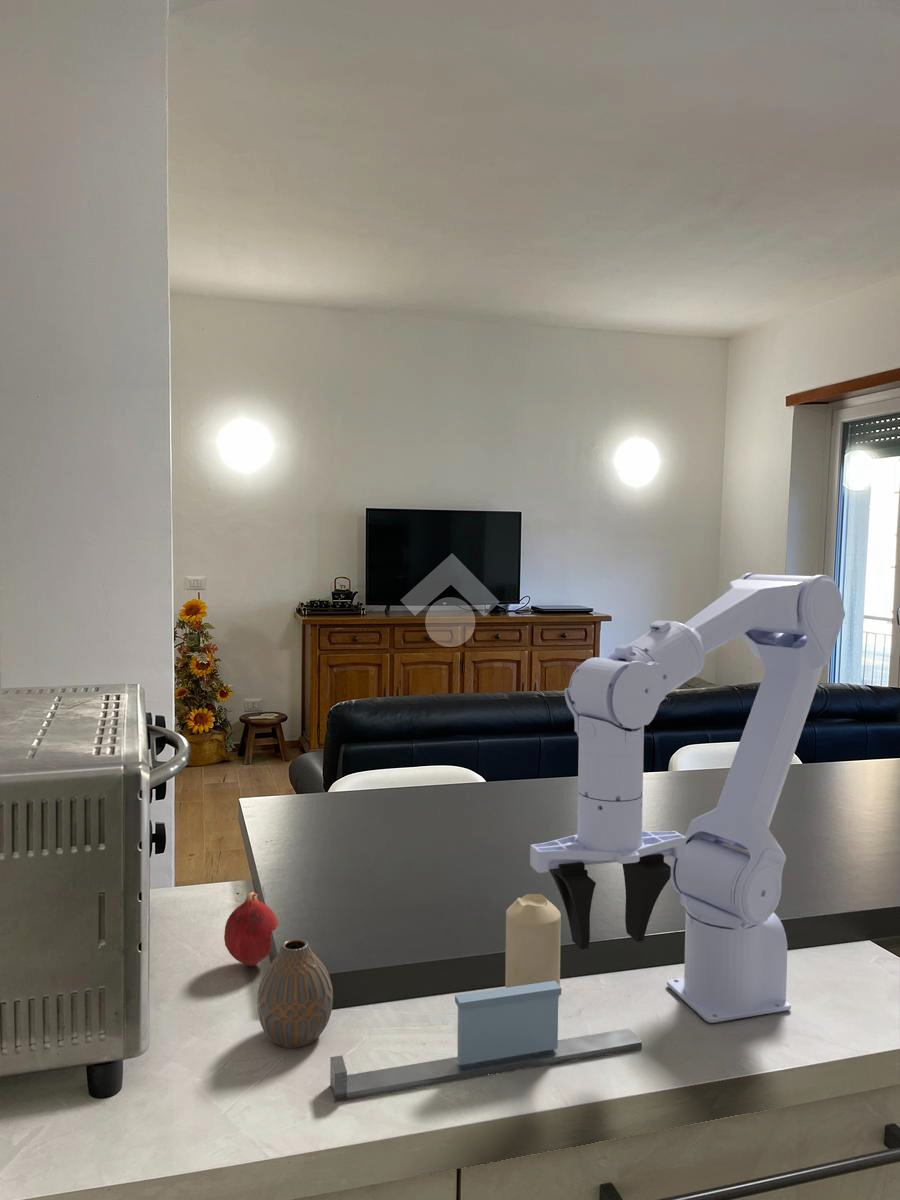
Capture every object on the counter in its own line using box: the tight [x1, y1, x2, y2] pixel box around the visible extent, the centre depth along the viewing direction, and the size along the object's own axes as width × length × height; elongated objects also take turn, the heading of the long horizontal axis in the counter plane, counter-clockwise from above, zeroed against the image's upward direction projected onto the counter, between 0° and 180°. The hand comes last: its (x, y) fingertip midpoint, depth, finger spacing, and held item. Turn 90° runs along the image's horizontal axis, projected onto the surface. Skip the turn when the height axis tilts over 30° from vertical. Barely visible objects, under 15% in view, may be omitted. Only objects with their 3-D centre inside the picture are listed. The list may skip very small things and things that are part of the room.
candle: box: [504, 893, 562, 998], centre depth 89 cm, size 6×6×10 cm
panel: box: [454, 981, 562, 1065], centre depth 77 cm, size 9×1×6 cm, turn 106°
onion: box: [223, 891, 279, 967], centre depth 94 cm, size 6×6×8 cm
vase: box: [256, 938, 334, 1049], centre depth 81 cm, size 7×7×9 cm
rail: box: [329, 1028, 643, 1103], centre depth 76 cm, size 28×2×2 cm, turn 106°
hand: (607, 940), depth 79 cm, fingers open, 5 cm apart
